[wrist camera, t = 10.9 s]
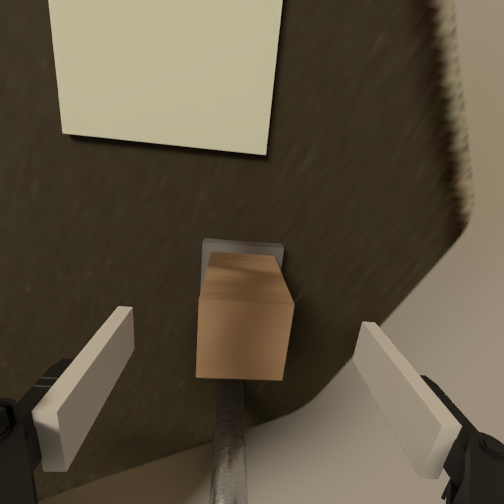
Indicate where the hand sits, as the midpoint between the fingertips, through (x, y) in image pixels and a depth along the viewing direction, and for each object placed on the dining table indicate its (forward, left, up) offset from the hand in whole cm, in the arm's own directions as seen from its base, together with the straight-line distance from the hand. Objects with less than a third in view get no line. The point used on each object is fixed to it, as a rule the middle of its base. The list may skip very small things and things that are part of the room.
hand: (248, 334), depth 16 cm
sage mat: (-6, +17, -8) cm, 20 cm away
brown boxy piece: (0, 0, -8) cm, 8 cm away
